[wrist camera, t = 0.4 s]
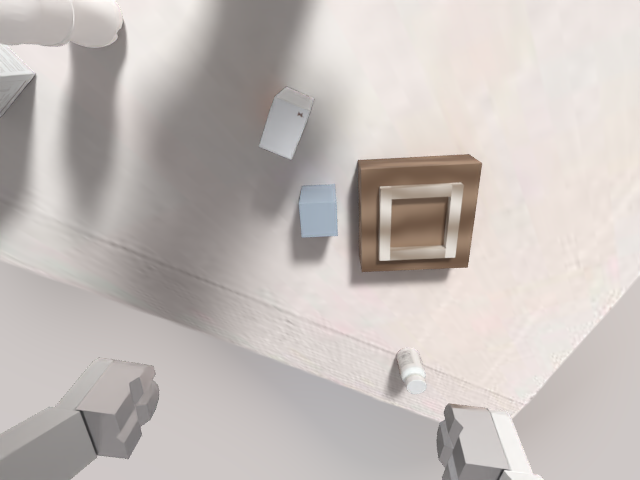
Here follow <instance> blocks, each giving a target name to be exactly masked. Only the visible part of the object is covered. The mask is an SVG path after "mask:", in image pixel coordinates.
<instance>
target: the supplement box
mask: <svg viewBox="0 0 640 480" xmlns="http://www.w3.org/2000/svg"><path fill="white" fill-rule="evenodd" d="M34 76H35V72H34V71H33V70H32V69H31V68H30V67H29V66H28V65H27V64H26V63H25V62H24V61H23V60H22V59H21V58H20V57H18V56H17V55H16V54H15V53H14V52H13V51H12V50H11V49H10V48H9V47H8V46H7V45H5V44H0V117H1V116H2V115H3V114H4V113H5V111H6V110H7V109H8V108H9V107H10V105H11V104H12V103H13V102H14V100H15V99H16V98H17V97H18V95H19V94H20V93H21V92H22V90H23V89H24V88H25V87H26V86H27V84H28V83H29V82H30V81H31V79H32V78H33V77H34Z"/></svg>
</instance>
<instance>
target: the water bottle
mask: <svg viewBox="0 0 640 480" xmlns="http://www.w3.org/2000/svg"><path fill="white" fill-rule="evenodd" d="M122 24H123V16H122V12H121V9H120V7H119V5H118V3H117V2H116V1H115V0H0V44H5V45H20V44H36V45H41V46H50V47H58V46H63V45H65V44H67V43H68V42H73V43H76V44H78V45H81V46H84V47H89V48H100V47H105V46H108V45H110V44H112V43H113V42H115V41H116V40H117V38H118V35H117V32H118V30H119V29H120V28H121V27H122Z"/></svg>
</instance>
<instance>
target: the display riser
mask: <svg viewBox="0 0 640 480" xmlns="http://www.w3.org/2000/svg"><path fill="white" fill-rule="evenodd" d="M481 167H482V163H481V162H479V161H478V160H476V159H475V158H474V157H472V156H471V155H469V154H466V155H447V156H428V157H410V158H391V159H372V160H358V194H359V258H360V264H361V269H362V272H371V271H395V270H419V269H442V268H466V267H468V262H469V255H470V247H471V240H472V233H473V225H474V218H475V211H476V204H477V196H478V189H479V182H480V175H481Z"/></svg>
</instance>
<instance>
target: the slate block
mask: <svg viewBox="0 0 640 480" xmlns="http://www.w3.org/2000/svg"><path fill="white" fill-rule="evenodd" d="M299 211H300V222H301V234H302V237H323V236H338V230H337V205H336V190H335V184H332V185H313V186H302V189H301V195H300V200H299Z"/></svg>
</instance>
